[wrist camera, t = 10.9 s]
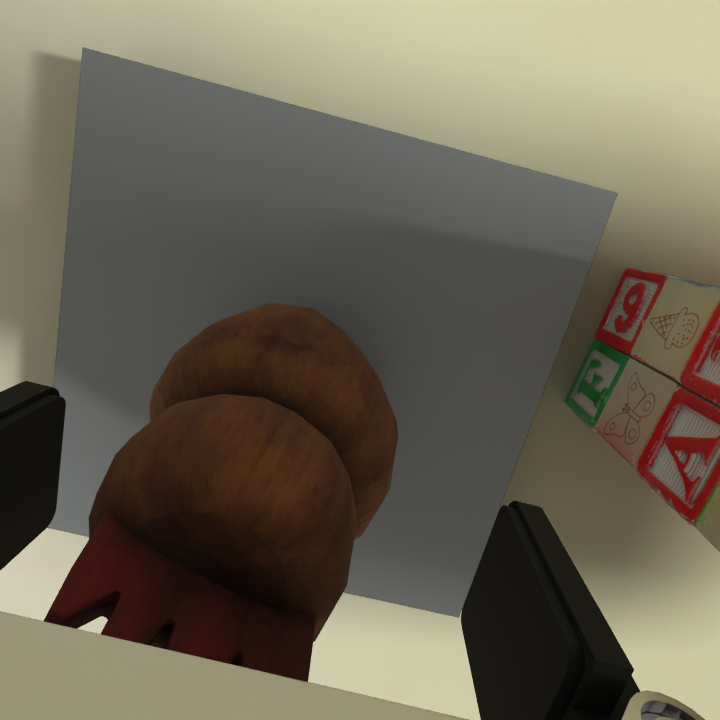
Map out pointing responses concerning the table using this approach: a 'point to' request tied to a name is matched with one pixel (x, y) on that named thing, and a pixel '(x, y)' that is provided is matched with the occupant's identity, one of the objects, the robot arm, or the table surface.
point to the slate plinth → (318, 291)
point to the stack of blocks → (660, 390)
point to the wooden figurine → (239, 495)
